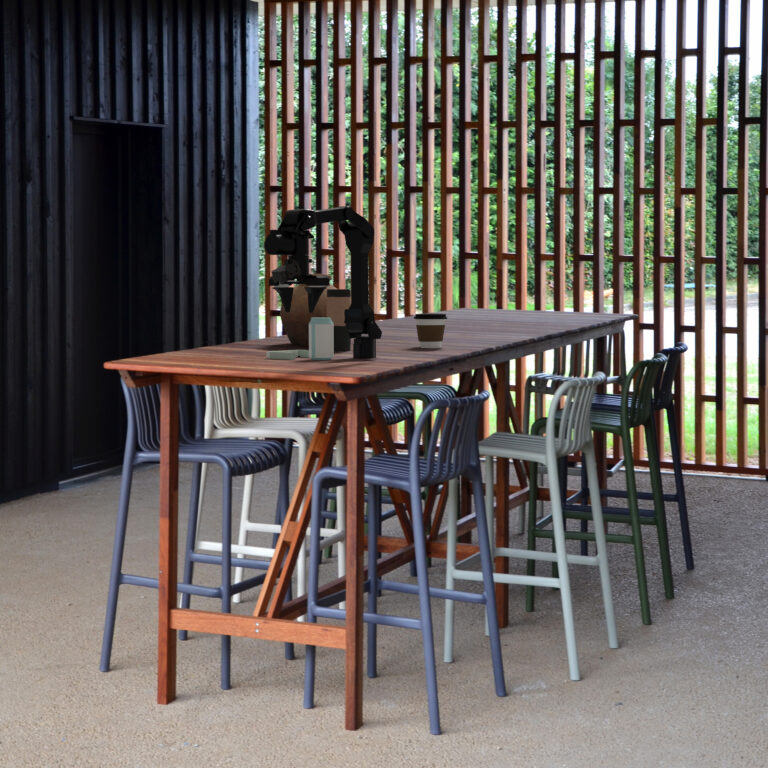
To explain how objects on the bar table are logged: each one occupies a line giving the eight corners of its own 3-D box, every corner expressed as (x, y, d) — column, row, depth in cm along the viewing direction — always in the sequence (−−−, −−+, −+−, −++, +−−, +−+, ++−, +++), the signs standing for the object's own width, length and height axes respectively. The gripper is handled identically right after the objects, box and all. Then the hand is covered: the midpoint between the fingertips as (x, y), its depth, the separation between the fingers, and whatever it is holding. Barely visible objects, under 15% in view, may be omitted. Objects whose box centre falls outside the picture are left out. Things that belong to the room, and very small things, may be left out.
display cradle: (298, 356, 377) (298, 349, 377) (323, 357, 370) (323, 351, 370) (266, 358, 367) (266, 351, 367) (291, 359, 360) (291, 352, 360)
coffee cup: (444, 352, 402) (444, 314, 401) (410, 351, 404) (410, 314, 403) (449, 350, 412) (449, 313, 411) (416, 350, 415) (416, 313, 414)
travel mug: (321, 353, 396) (321, 289, 394) (341, 352, 401) (340, 289, 399) (336, 354, 390) (336, 289, 388) (356, 353, 395) (356, 289, 393)
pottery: (309, 348, 428) (308, 274, 426) (365, 350, 415) (365, 273, 413) (266, 351, 409) (265, 273, 407) (323, 353, 396) (322, 273, 394)
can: (320, 358, 366) (320, 317, 365) (338, 359, 362) (338, 317, 361) (303, 359, 361) (303, 317, 360) (322, 360, 356) (321, 317, 355)
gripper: (253, 255, 346) (254, 312, 348) (300, 254, 334) (301, 313, 335) (283, 256, 355) (284, 311, 356) (330, 254, 342) (331, 312, 343)
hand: (299, 312), depth 347 cm, fingers open, 9 cm apart
